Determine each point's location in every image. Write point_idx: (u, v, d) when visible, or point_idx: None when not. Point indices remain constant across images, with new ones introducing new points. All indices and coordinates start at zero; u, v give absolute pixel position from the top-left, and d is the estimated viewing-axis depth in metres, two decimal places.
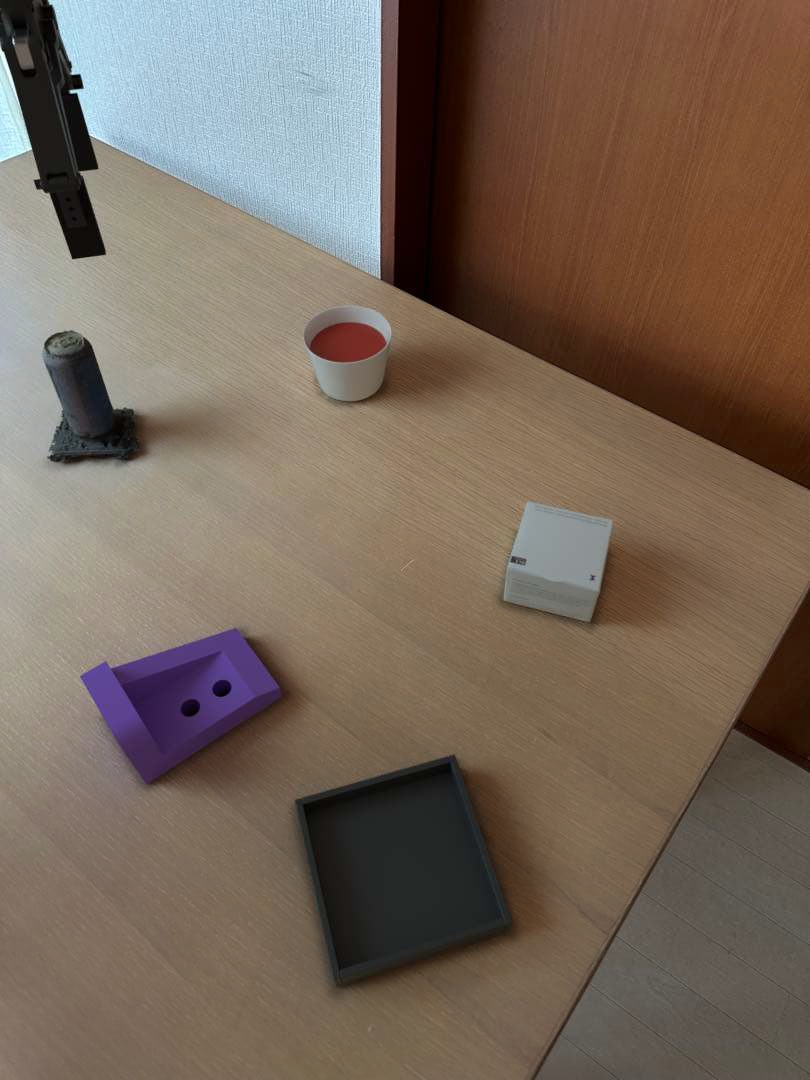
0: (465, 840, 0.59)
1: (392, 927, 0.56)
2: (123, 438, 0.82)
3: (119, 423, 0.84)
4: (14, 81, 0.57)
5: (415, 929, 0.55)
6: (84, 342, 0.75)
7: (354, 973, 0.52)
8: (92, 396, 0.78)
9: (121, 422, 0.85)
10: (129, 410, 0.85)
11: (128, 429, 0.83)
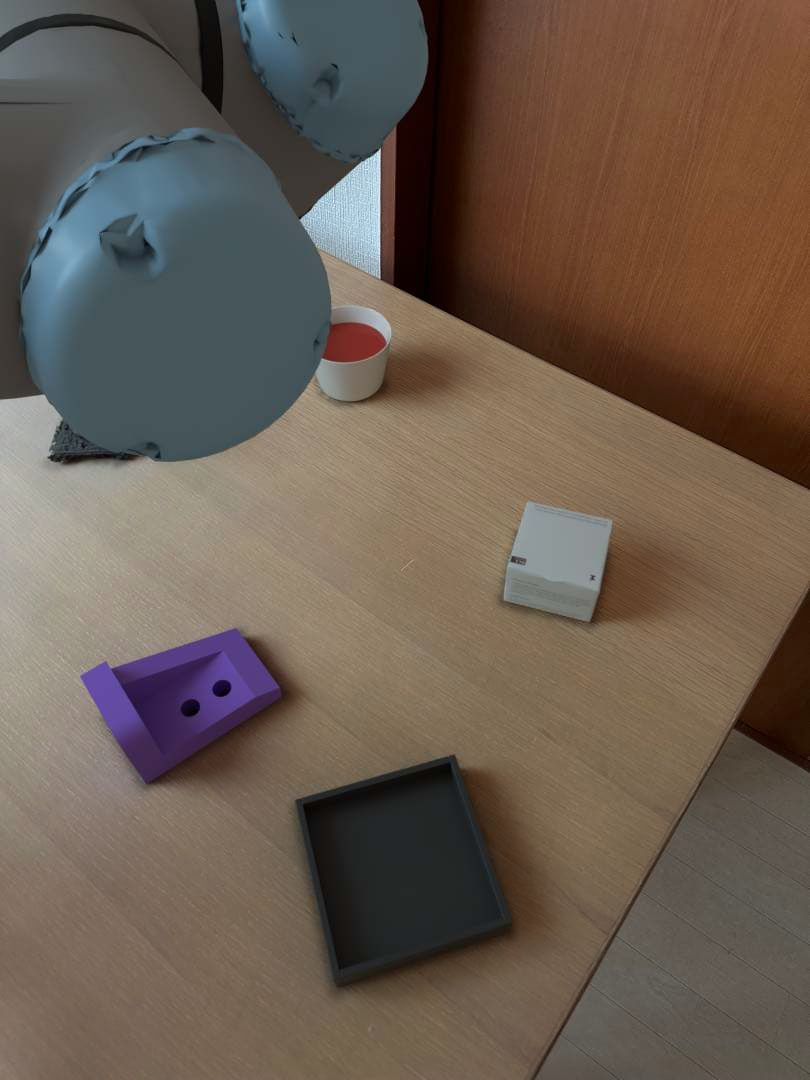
0: (465, 840, 0.59)
1: (392, 927, 0.56)
2: None
3: None
4: None
5: (415, 929, 0.55)
6: None
7: (354, 973, 0.52)
8: None
9: None
10: None
11: None
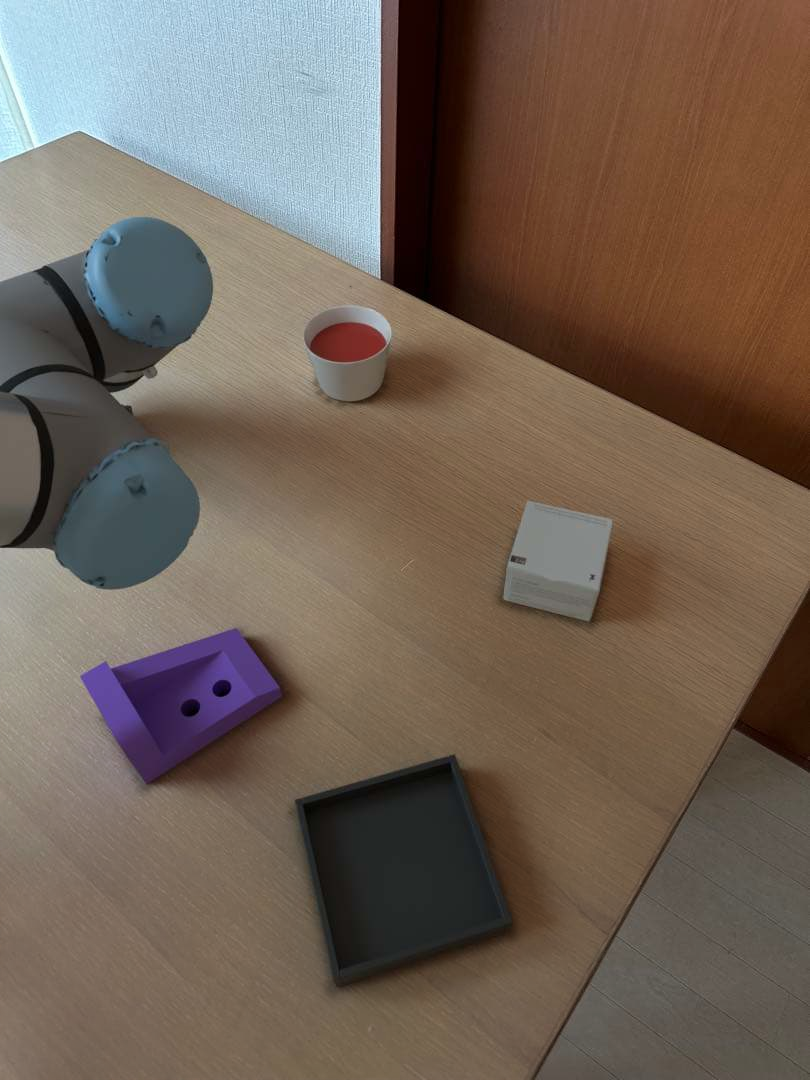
0: (465, 840, 0.59)
1: (392, 927, 0.56)
2: None
3: None
4: None
5: (415, 929, 0.55)
6: None
7: (354, 973, 0.52)
8: None
9: None
10: (127, 407, 0.85)
11: None
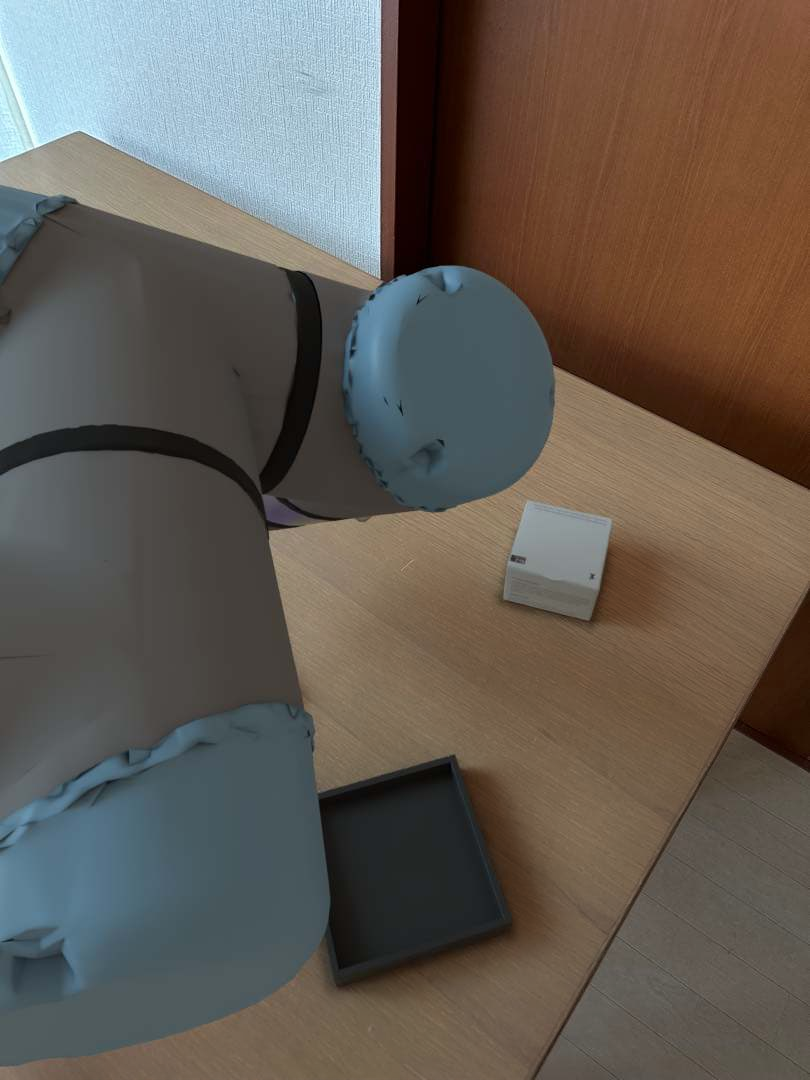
0: (465, 840, 0.59)
1: (392, 927, 0.56)
2: None
3: None
4: None
5: (415, 929, 0.55)
6: None
7: (354, 973, 0.52)
8: None
9: None
10: None
11: None
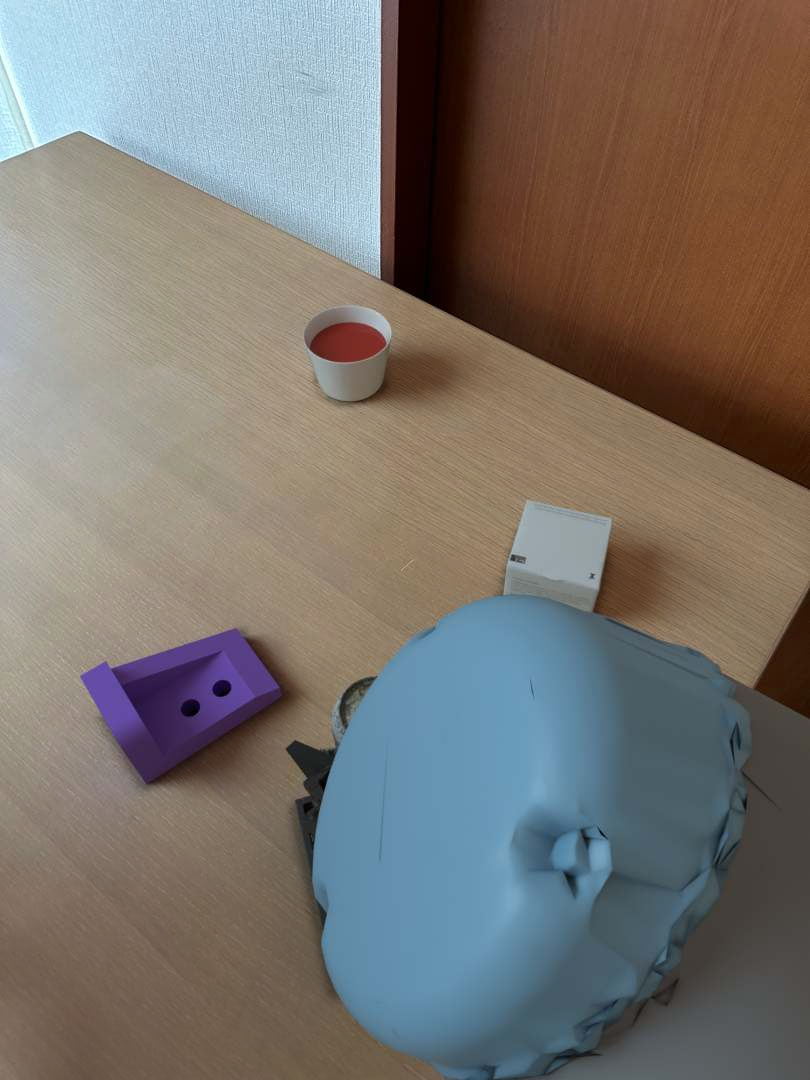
0: None
1: None
2: None
3: None
4: None
5: None
6: None
7: None
8: None
9: None
10: None
11: None
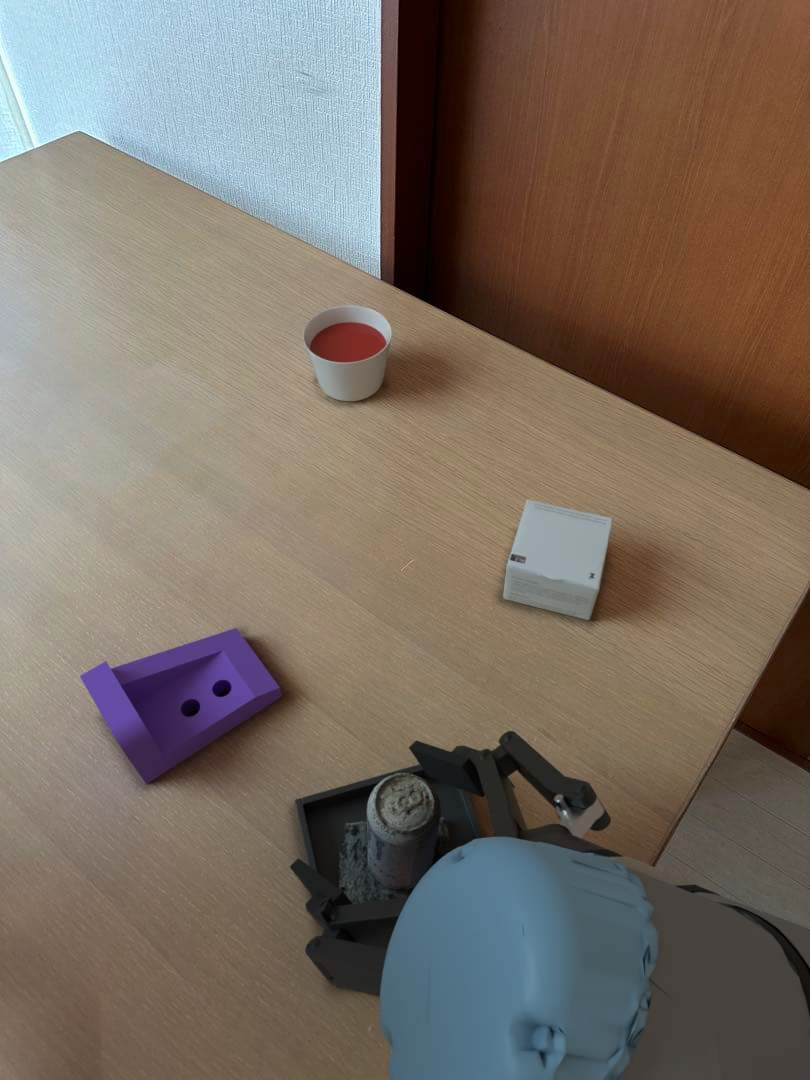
0: (465, 840, 0.59)
1: None
2: None
3: None
4: None
5: None
6: (433, 799, 0.49)
7: None
8: (427, 856, 0.52)
9: None
10: (440, 821, 0.59)
11: None
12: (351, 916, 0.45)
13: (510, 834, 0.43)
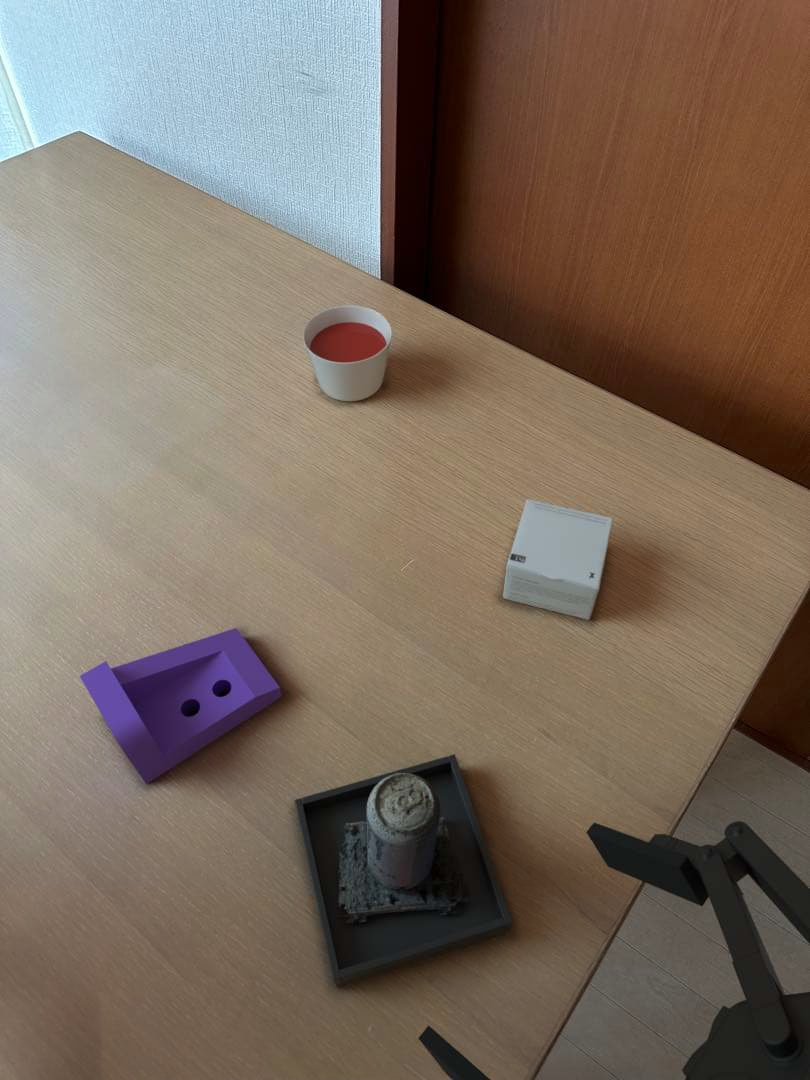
0: (465, 840, 0.59)
1: (392, 927, 0.56)
2: (446, 882, 0.56)
3: None
4: None
5: (415, 929, 0.55)
6: (433, 798, 0.49)
7: (354, 973, 0.52)
8: (427, 856, 0.52)
9: None
10: (440, 821, 0.59)
11: (450, 864, 0.57)
12: None
13: (774, 1007, 0.32)
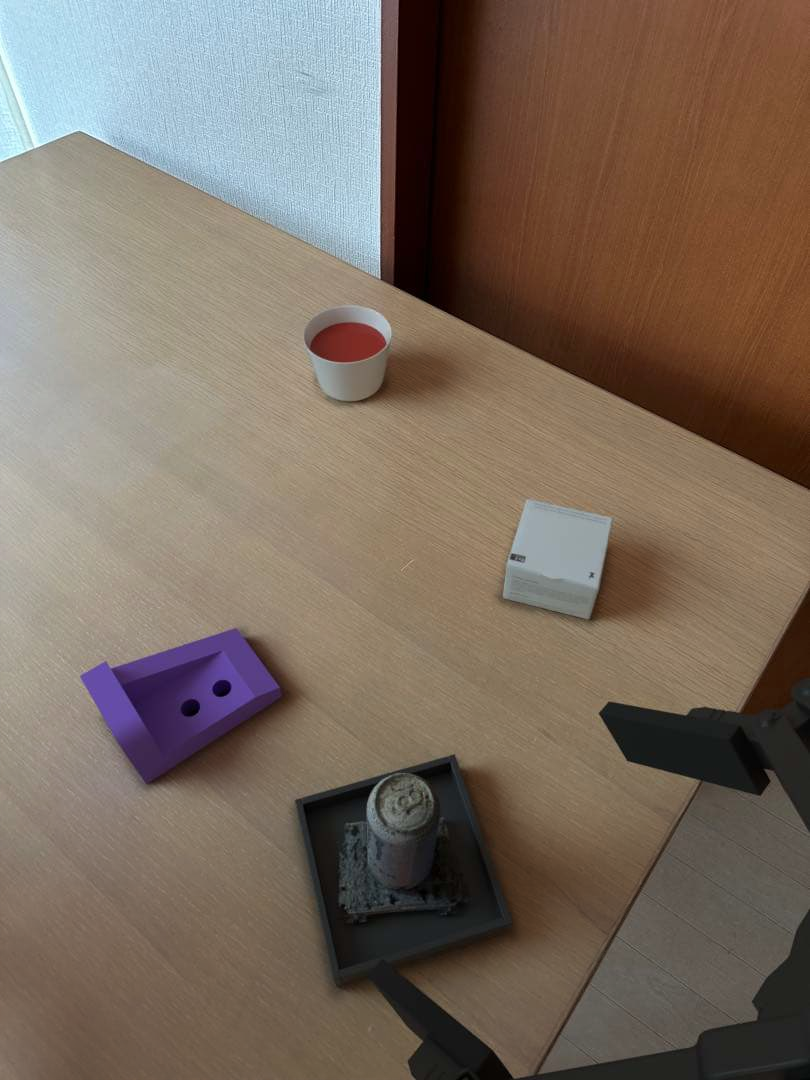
0: (465, 840, 0.59)
1: (392, 927, 0.56)
2: (446, 882, 0.56)
3: None
4: None
5: (415, 929, 0.55)
6: (433, 798, 0.49)
7: (354, 973, 0.52)
8: (427, 856, 0.52)
9: None
10: (440, 821, 0.59)
11: (450, 864, 0.57)
12: None
13: None
